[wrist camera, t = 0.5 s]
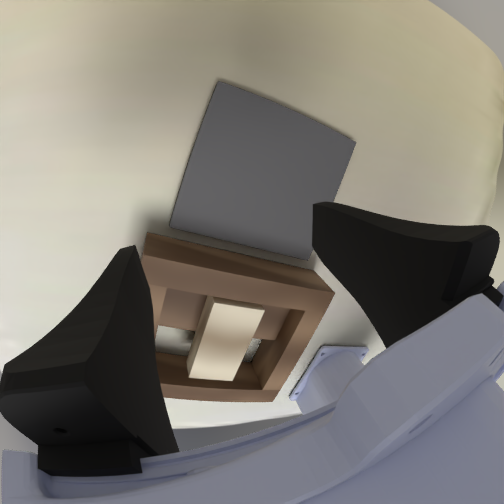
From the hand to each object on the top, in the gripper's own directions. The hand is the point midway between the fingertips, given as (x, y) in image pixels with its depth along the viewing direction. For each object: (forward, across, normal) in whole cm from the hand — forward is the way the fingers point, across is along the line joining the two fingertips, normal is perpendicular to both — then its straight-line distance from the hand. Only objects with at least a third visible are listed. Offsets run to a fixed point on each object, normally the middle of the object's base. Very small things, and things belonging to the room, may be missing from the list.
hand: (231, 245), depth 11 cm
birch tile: (+8, +1, +12) cm, 15 cm away
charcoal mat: (+10, -6, +1) cm, 12 cm away
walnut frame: (+10, 0, +13) cm, 16 cm away
